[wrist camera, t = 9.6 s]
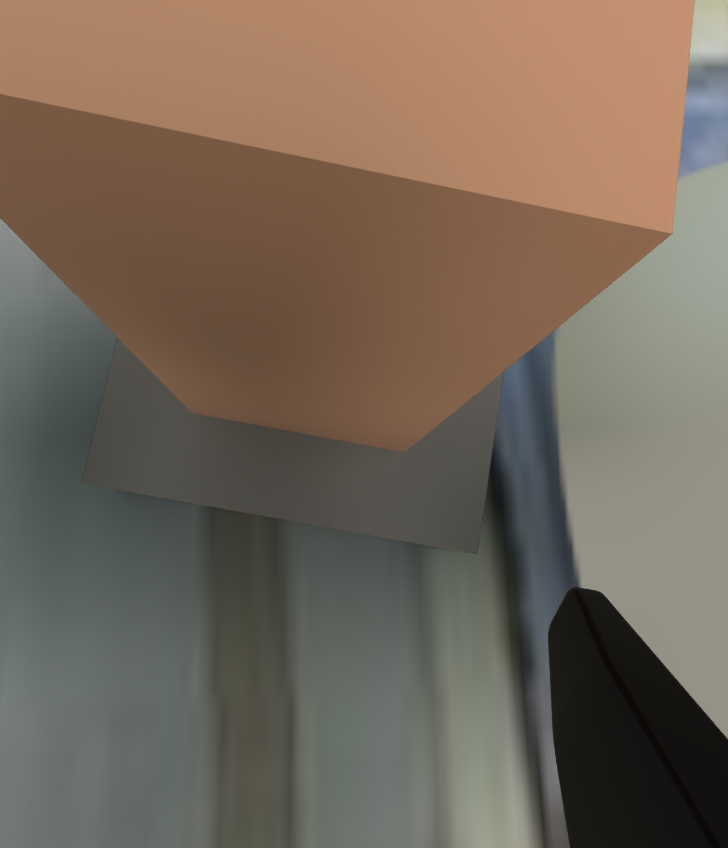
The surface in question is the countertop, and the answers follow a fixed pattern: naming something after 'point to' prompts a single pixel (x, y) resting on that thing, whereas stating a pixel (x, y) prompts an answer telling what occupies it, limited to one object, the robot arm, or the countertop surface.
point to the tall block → (339, 187)
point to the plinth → (295, 465)
